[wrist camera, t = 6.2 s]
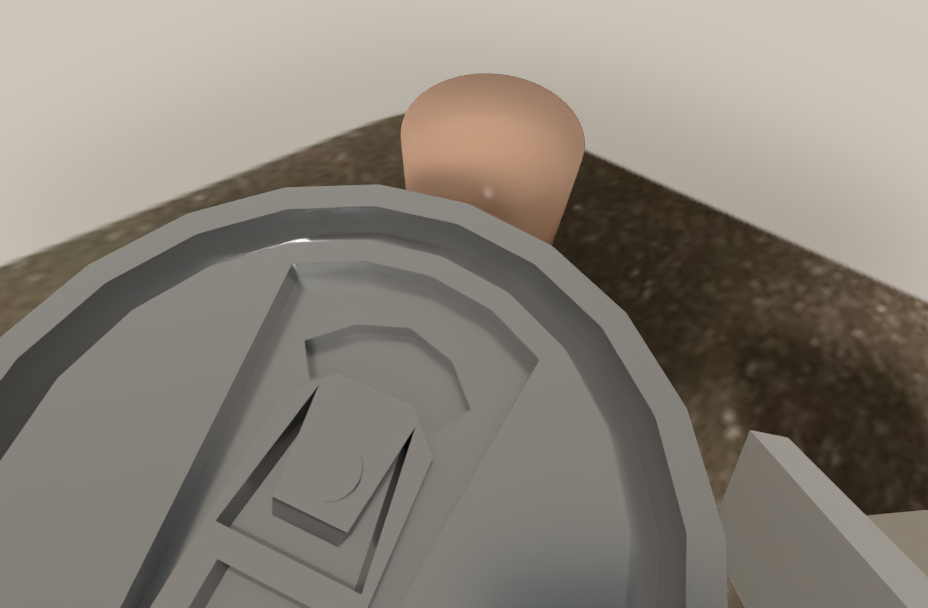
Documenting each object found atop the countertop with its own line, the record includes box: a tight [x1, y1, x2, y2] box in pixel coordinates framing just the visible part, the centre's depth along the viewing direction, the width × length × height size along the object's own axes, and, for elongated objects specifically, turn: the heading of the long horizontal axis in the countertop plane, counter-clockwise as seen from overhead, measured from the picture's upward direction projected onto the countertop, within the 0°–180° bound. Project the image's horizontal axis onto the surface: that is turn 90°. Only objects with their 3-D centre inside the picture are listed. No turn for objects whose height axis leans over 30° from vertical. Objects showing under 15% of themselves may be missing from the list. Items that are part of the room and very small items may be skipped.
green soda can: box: [0, 184, 728, 608], centre depth 8 cm, size 5×5×12 cm
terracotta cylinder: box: [401, 74, 585, 245], centre depth 15 cm, size 5×5×6 cm
